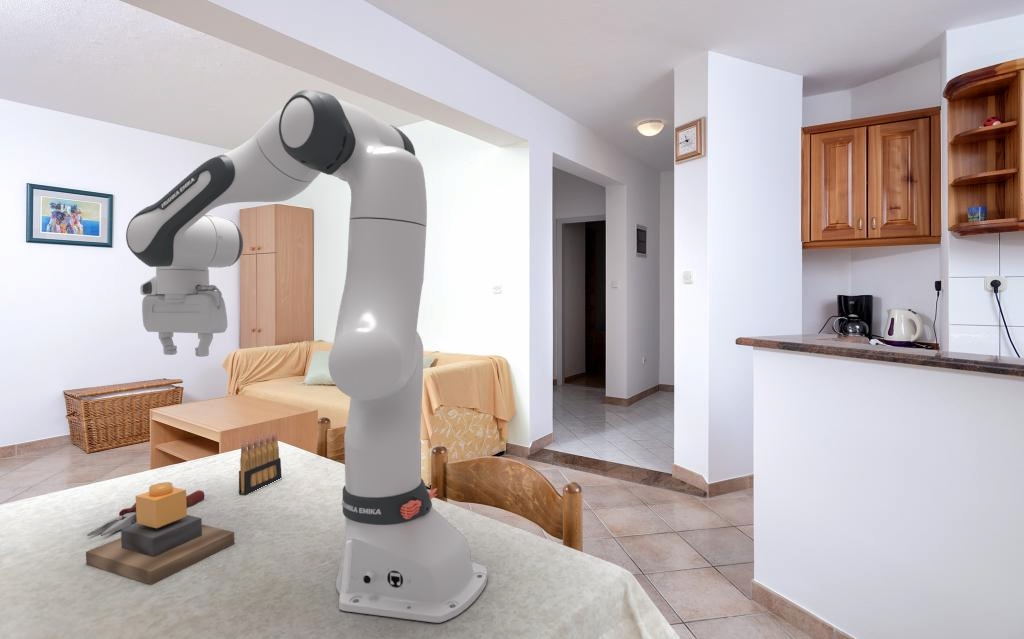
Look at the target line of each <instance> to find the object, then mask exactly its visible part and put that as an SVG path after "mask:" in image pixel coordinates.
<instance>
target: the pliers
mask: <svg viewBox="0 0 1024 639" xmlns="http://www.w3.org/2000/svg"><path fill="white" fill-rule="evenodd" d="M204 498H205V493H204V491H203V490H200V489H199V490H196V491H194V492H192V493H190V494H188V495H186V505H187V508H190V507H192V506H194V505H197V504H198V503H200V502H202V501H203V500H204ZM136 523H137V518H136V502H135V503H134V504H133V505H132V506H131V507H128V508H123V509H121V510H120V511H119V514H118V516H116V517H115V518H113V519H110V520H109V521H107V522H106V523H104V524H102V525H101V526H99V527H97V528H96V529H94V530H92V531H91V532H89V533H88V534H87V533H86V535H87V537H89V536H94V535H98V534H100V537H104V536H107V535H110V534H113V533H115V532H118V531H121V530H122V529H124V528H127V527H129V526H132V524H136Z"/></svg>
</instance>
